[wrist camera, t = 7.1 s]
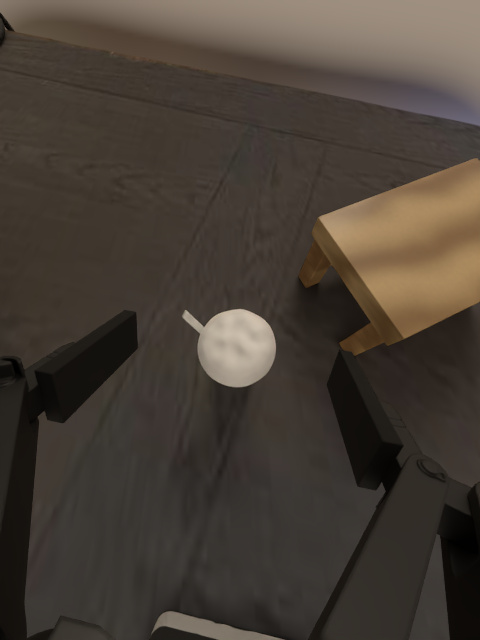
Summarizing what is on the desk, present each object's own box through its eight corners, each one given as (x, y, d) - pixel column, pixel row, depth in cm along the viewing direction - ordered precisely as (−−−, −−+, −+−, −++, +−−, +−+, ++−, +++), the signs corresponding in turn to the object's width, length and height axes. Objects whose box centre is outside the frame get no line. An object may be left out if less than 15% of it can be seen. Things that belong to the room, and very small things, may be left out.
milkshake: (217, 332, 23) (203, 278, 13) (270, 356, 22) (294, 316, 13) (194, 376, 21) (160, 351, 12) (249, 404, 21) (260, 399, 11)
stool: (293, 274, 25) (317, 217, 18) (410, 226, 27) (476, 157, 20) (347, 363, 22) (404, 339, 14) (474, 300, 24) (580, 252, 17)
